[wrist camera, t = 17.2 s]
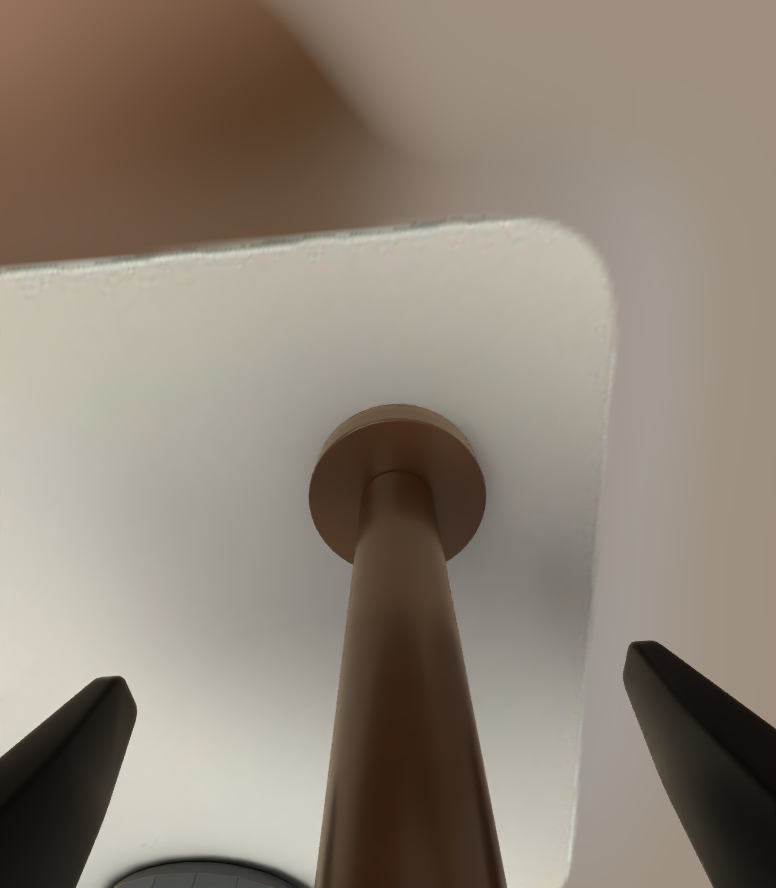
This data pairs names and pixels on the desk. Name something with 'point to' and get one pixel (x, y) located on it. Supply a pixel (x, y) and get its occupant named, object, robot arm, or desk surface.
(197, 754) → the desk surface
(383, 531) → the stirring stick
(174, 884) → the bowl
